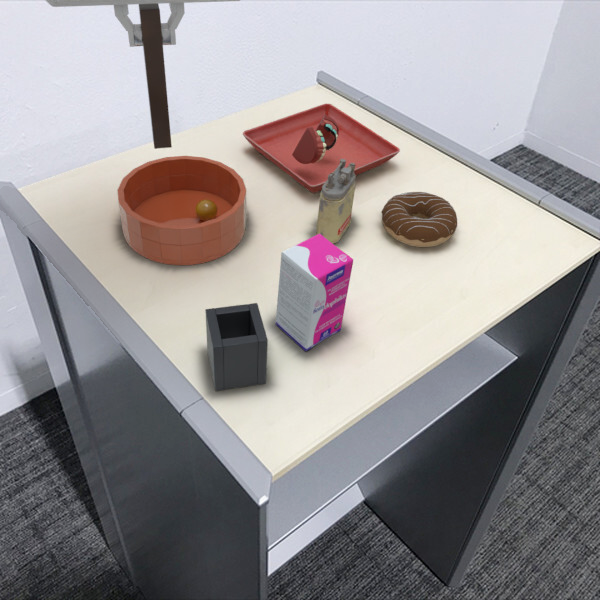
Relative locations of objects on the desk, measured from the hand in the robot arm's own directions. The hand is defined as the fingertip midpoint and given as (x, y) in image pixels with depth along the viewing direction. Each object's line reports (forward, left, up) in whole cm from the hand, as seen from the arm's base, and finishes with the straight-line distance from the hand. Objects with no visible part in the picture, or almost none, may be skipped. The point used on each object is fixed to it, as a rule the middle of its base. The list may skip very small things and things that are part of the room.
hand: (152, 43), depth 71 cm
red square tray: (+25, +16, -27) cm, 40 cm away
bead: (+5, +3, -25) cm, 25 cm away
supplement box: (+14, -19, -27) cm, 36 cm away
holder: (+5, -24, -27) cm, 36 cm away
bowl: (+2, +3, -27) cm, 27 cm away
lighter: (+22, -1, -27) cm, 35 cm away
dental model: (+26, +15, -21) cm, 37 cm away
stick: (0, 0, -12) cm, 12 cm away
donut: (+34, -3, -27) cm, 44 cm away
